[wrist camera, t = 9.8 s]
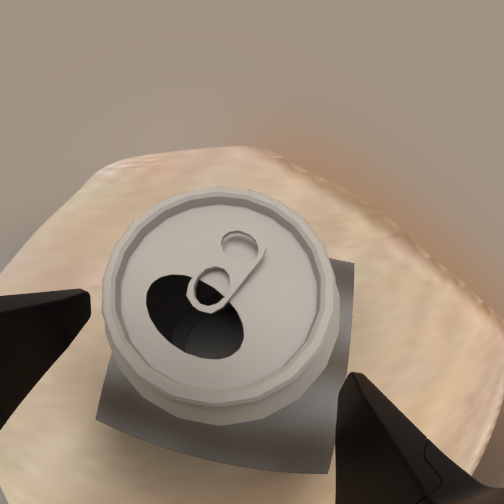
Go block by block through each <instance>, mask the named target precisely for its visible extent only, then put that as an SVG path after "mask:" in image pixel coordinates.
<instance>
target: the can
mask: <svg viewBox="0 0 504 504" xmlns="http://www.w3.org/2000/svg"><path fill="white" fill-rule="evenodd" d="M102 314H103V318H104V321H105V332H106V335H107V338H108V341H109V344H110V347H111V350H112V353H113V355H114V358H115V361H116V363H117V366H118V367H119V369H120V370H121V371H122V372H123V374H124V375H125V376H126V378H127V379H128V380H129V381H130V382H131V384H132V385H133V386H134V387H135V389H136V390H137V391H138V392H139V393H140V394H141V396H142V397H144V398H145V399H147V400H149V401H150V402H152V403H153V404H155V405H157V406H158V407H160V408H162V409H163V410H165V411H167V412H169V413H170V414H172V415H174V416H176V417H177V418H181V419H186V420H191V421H196V422H201V423H206V424H212V425H218V426H222V425H229V424H236V423H242V422H248V421H254V420H259V419H263V418H265V417H267V416H269V415H271V414H273V413H274V412H276V411H278V410H280V409H282V408H283V407H285V406H287V405H289V404H290V403H292V402H294V401H295V400H297V399H299V398H300V397H301V396H302V395H303V394H304V393H305V391H306V390H307V389H308V388H309V387H310V386H311V384H312V383H313V382H314V381H315V380H316V379H317V377H318V376H319V375H320V374H321V373H322V371H323V370H324V369H325V368H326V366H327V363H328V360H329V358H330V355H331V353H332V350H333V347H334V344H335V342H336V339H337V336H338V333H339V315H340V295H339V292H338V289H337V286H336V283H335V275H334V272H333V269H332V266H331V263H330V260H329V257H328V254H327V251H326V249H325V246H324V244H323V243H322V242H321V240H320V239H319V238H318V236H317V235H316V234H315V232H314V231H313V230H312V228H311V227H310V226H309V224H308V223H307V222H306V221H305V220H304V219H303V218H302V217H300V216H299V215H298V214H296V213H295V212H294V211H292V210H291V209H290V208H288V207H287V206H286V205H284V204H283V203H281V202H280V201H278V200H276V199H273V198H270V197H268V196H265V195H262V194H260V193H257V192H255V191H252V190H248V189H239V188H230V187H220V186H217V187H210V188H203V189H196V190H189V191H185V192H183V193H180V194H178V195H176V196H173V197H171V198H168V199H166V200H164V201H161V202H159V203H157V204H156V205H155V206H153V207H152V208H151V209H149V210H148V211H147V212H145V213H144V214H143V215H141V216H140V217H139V218H138V219H136V220H135V221H134V222H133V223H132V224H131V225H130V227H129V228H128V229H127V231H126V232H125V233H124V235H123V236H122V237H121V239H120V240H119V241H118V243H117V244H116V245H115V247H114V249H113V251H112V254H111V257H110V260H109V262H108V265H107V268H106V271H105V274H104V277H103V286H102Z"/></svg>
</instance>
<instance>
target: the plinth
mask: <svg viewBox="0 0 504 504" xmlns="http://www.w3.org/2000/svg"><path fill="white" fill-rule="evenodd" d="M329 260H330V263H331V266H332V269H333V272H334V275H335V283H336V286H337V289H338V292H339V295H340V315H339V333H338V336H337V339H336V342H335V344H334V347H333V350H332V353H331V355H330V358H329V360H328V363H327V366H326V368H325V369H324V370H323V371H322V373H321V374H320V375H319V376H318V377H317V379H316V380H315V381H314V382H313V383H312V384H311V386H310V387H309V388H308V389H307V390H306V391H305V393H304V394H303V395H302V396H301V397H300V398H299V399H297V400H295V401H294V402H292V403H290V404H289V405H287V406H285V407H283V408H282V409H280V410H278V411H276V412H274V413H273V414H271V415H269V416H267V417H265V418H263V419H259V420H254V421H248V422H242V423H236V424H229V425H222V426H218V425H212V424H206V423H201V422H196V421H191V420H186V419H181V418H177V417H176V416H174V415H172V414H170V413H169V412H167V411H165V410H163V409H162V408H160V407H158V406H157V405H155V404H153V403H152V402H150V401H149V400H147V399H145V398H144V397H142V396H141V394H140V393H139V392H138V391H137V390H136V389H135V387H134V386H133V385H132V384H131V382H130V381H129V380H128V379H127V378H126V376H125V375H124V374H123V372H122V371H121V370H120V369H119V367H118V366H117V363H116V361H115V358H114V355H113V353H112V355H111V358H110V362H109V366H108V369H107V373H106V377H105V381H104V385H103V389H102V393H101V397H100V402H99V406H98V411H97V416H96V420H98V421H100V422H102V423H104V424H106V425H108V426H110V427H113V428H115V429H117V430H119V431H122V432H124V433H127V434H129V435H131V436H134V437H136V438H139V439H142V440H144V441H147V442H150V443H153V444H155V445H158V446H161V447H164V448H167V449H170V450H174V451H177V452H180V453H184V454H187V455H191V456H195V457H199V458H202V459H207V460H211V461H215V462H220V463H225V464H230V465H235V466H241V467H247V468H253V469H261V470H269V471H278V472H289V473H306V474H328V470H329V466H330V462H331V458H332V454H333V449H334V445H335V431H336V419H337V405H338V394H339V391H340V389H341V387H342V385H343V384H344V382H345V380H346V374H347V366H348V357H349V348H350V337H351V325H352V310H353V291H354V263H350V262H345V261H340V260H335V259H330V258H329Z"/></svg>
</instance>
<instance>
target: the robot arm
mask: <svg viewBox="0 0 504 504" xmlns="http://www.w3.org/2000/svg"><path fill="white" fill-rule="evenodd" d="M90 316H91V302H90V294H89V293H88V292H87V291H85V290H83V289H70V290H60V291H50V292H40V293H29V294H18V295H6V296H0V430H1V429H2V427H3V426H4V425H5V423H6V422H7V420H8V419H9V418H10V416H11V415H12V414H13V412H14V411H15V410H16V408H17V407H18V406H19V405H20V403H21V402H22V401H23V400H24V398H25V397H26V396H27V395H28V393H29V392H30V391H31V390H32V388H33V387H34V386H35V385H36V384H37V382H38V381H39V380H40V379H41V378H42V376H43V375H44V374H45V373H46V372H47V371H48V369H49V368H50V367H51V366H52V365H53V364H54V362H55V361H56V360H57V359H58V358H59V357H60V356H61V355H62V353H63V352H64V351H65V350H66V349H67V348H68V347H69V345H70V344H71V343H72V341H73V340H74V339H75V337H76V336H77V334H78V333H79V332H80V330H81V329H82V328H83V326H84V325H85V324H86V322H87V321H88V320H89V318H90ZM335 452H336V500H335V504H504V488H493V487H488V486H485V485H483V484H481V483H480V482H478V481H477V480H476V479H474V478H473V477H472V476H470V475H469V474H468V473H467V472H465V471H464V470H463V469H462V468H460V467H459V466H458V465H457V464H455V463H454V462H453V461H452V460H451V459H449V458H448V457H447V456H446V455H445V454H444V453H443V452H441V451H440V450H439V449H438V448H437V447H436V446H435V445H434V444H433V443H432V442H431V441H430V440H429V439H427V437H426V436H425V435H424V434H423V433H422V432H421V431H420V430H419V429H418V428H417V427H416V426H415V425H414V424H413V423H412V422H411V421H410V420H409V419H408V418H407V417H406V416H405V415H404V414H403V413H402V412H401V411H400V410H399V409H398V408H397V407H396V406H395V405H394V404H393V403H392V402H391V401H390V400H389V399H388V398H387V397H386V396H385V395H384V394H383V393H382V392H381V391H380V390H379V389H378V388H377V387H376V386H375V385H374V384H373V383H372V382H371V381H370V380H369V379H368V378H367V377H366V376H365V375H364V374H362V373H356V372H351V373H349V375H348V376H347V378H346V380H345V382H344V384H343V385H342V387H341V389H340V391H339V394H338V405H337V419H336V431H335Z"/></svg>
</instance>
